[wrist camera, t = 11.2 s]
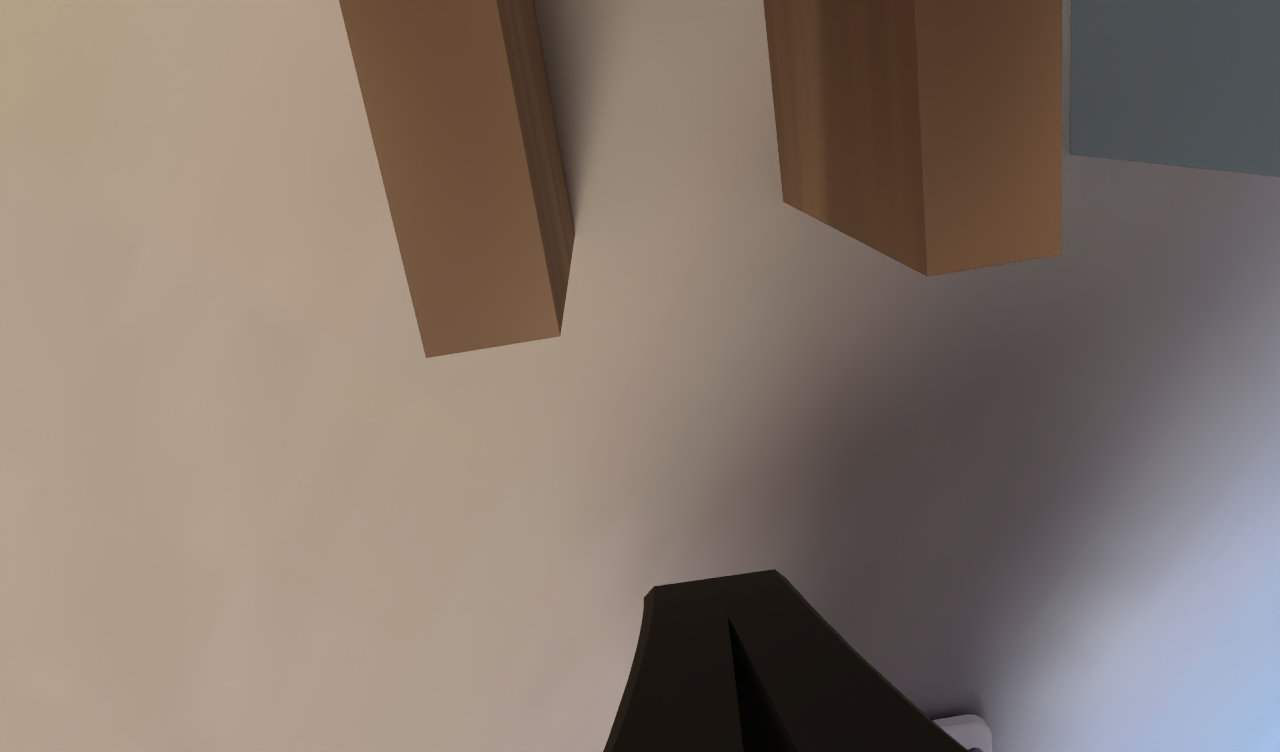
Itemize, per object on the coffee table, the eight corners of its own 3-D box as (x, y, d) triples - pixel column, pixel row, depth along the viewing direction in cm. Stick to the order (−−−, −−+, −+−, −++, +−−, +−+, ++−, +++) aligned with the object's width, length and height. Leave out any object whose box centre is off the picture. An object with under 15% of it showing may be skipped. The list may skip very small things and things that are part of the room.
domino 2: (840, -76, 16) (1062, -238, 8) (859, 189, 18) (1061, 254, 10) (757, -62, 16) (904, -213, 8) (783, 201, 18) (927, 276, 10)
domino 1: (528, -26, 16) (469, -142, 8) (575, 235, 18) (560, 336, 10) (444, -13, 16) (310, -116, 8) (499, 248, 18) (426, 358, 10)
